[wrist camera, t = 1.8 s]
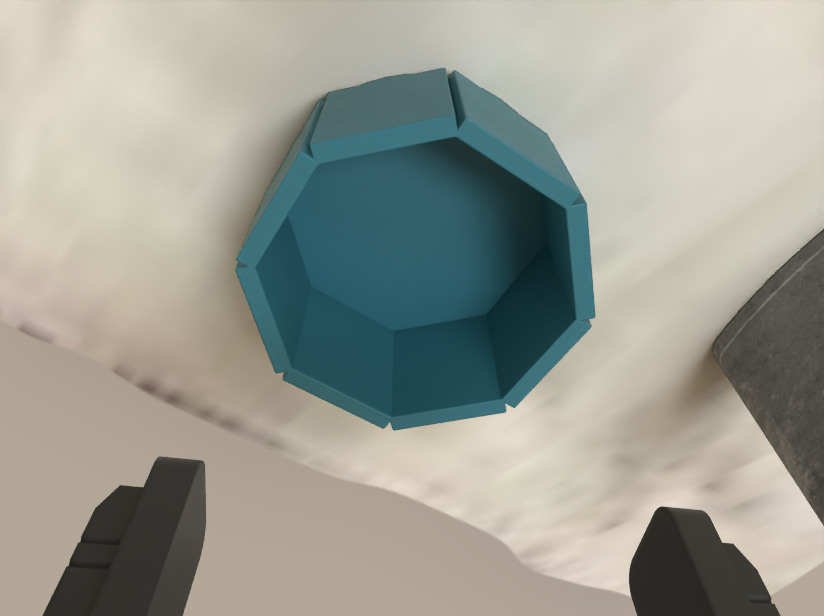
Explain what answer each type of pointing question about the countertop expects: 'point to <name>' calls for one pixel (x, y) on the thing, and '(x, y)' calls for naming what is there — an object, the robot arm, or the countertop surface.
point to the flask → (785, 366)
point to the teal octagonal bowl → (419, 254)
